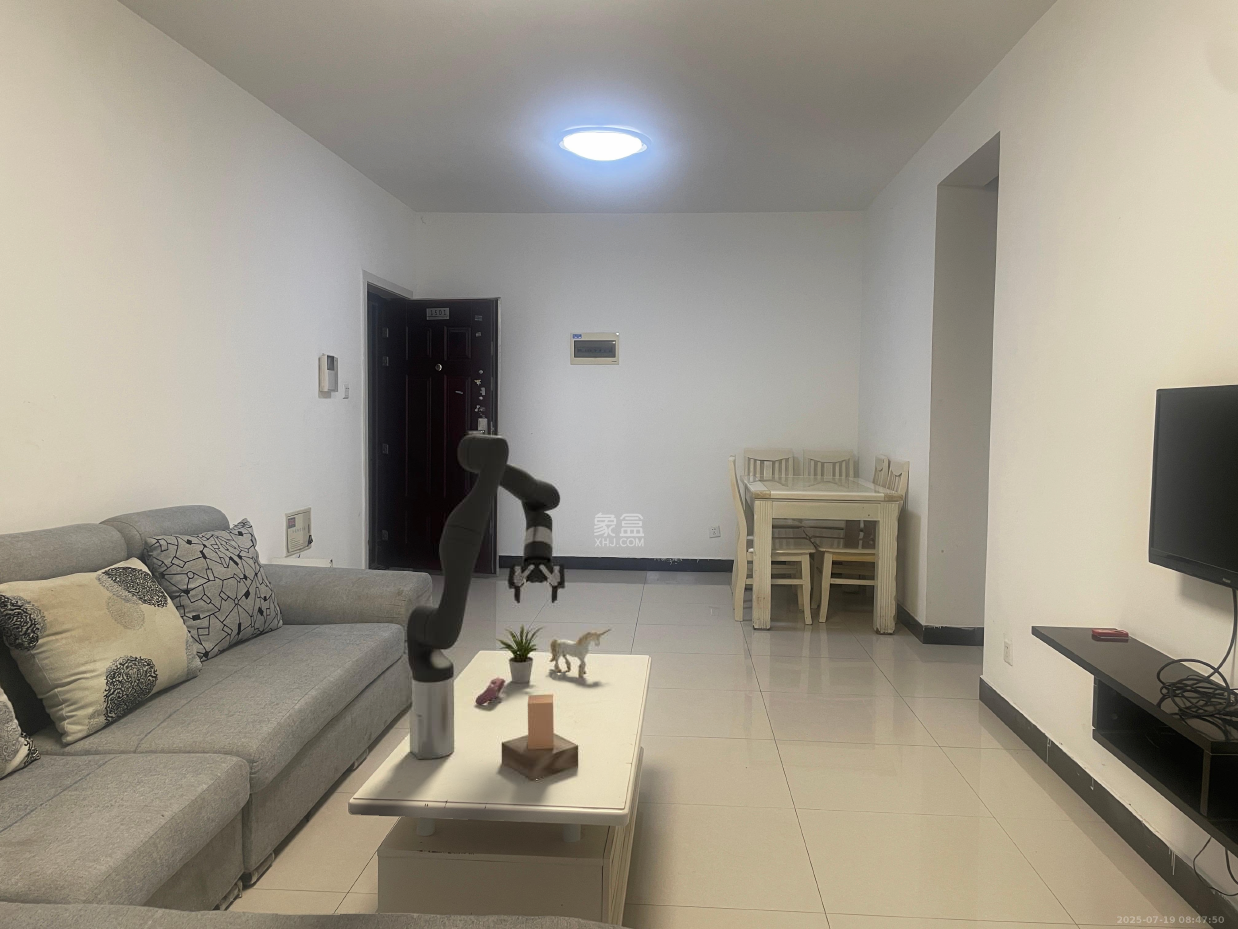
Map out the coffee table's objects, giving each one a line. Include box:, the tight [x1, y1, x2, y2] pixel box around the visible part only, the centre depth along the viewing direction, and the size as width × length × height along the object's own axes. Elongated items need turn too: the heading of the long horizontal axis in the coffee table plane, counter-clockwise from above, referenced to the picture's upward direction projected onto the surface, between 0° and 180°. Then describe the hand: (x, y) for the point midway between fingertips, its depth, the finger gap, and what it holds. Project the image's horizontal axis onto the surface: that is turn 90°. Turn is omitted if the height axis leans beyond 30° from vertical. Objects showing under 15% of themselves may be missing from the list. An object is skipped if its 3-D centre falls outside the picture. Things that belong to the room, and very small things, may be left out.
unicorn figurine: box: [548, 628, 612, 677], centre depth 238 cm, size 7×20×13 cm, turn 75°
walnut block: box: [501, 732, 579, 782], centre depth 173 cm, size 12×12×5 cm
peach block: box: [527, 693, 555, 749], centre depth 173 cm, size 5×5×10 cm
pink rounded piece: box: [475, 676, 506, 706], centre depth 214 cm, size 10×5×7 cm, turn 170°
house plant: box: [495, 623, 546, 684], centre depth 232 cm, size 14×14×16 cm
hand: (535, 601), depth 196 cm, fingers open, 8 cm apart
